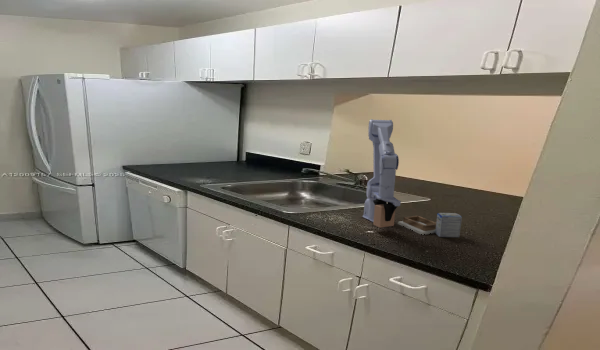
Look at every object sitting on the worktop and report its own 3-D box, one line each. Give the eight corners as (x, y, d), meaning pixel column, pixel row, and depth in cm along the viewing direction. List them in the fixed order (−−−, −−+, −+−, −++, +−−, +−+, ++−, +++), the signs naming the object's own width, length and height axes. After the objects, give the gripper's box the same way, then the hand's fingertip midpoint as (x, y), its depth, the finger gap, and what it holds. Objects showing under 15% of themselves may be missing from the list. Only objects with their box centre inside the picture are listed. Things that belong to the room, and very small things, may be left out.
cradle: (397, 223, 149) (398, 217, 149) (418, 220, 155) (419, 214, 154) (422, 234, 137) (423, 227, 137) (444, 231, 142) (445, 224, 142)
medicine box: (454, 233, 140) (456, 212, 138) (459, 237, 136) (462, 216, 134) (434, 233, 140) (437, 212, 138) (439, 237, 135) (442, 215, 134)
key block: (373, 224, 140) (374, 205, 138) (387, 222, 143) (388, 203, 141) (379, 227, 136) (381, 207, 135) (393, 225, 139) (395, 206, 138)
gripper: (367, 182, 141) (364, 214, 143) (391, 190, 128) (388, 226, 131) (381, 181, 144) (378, 213, 147) (406, 189, 131) (402, 223, 134)
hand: (384, 219), depth 139 cm, fingers closed on key block, 4 cm apart
